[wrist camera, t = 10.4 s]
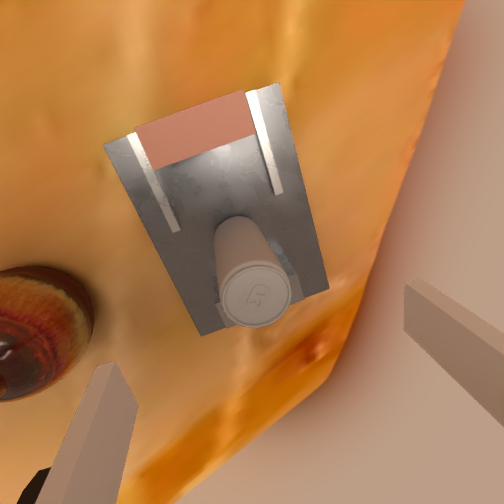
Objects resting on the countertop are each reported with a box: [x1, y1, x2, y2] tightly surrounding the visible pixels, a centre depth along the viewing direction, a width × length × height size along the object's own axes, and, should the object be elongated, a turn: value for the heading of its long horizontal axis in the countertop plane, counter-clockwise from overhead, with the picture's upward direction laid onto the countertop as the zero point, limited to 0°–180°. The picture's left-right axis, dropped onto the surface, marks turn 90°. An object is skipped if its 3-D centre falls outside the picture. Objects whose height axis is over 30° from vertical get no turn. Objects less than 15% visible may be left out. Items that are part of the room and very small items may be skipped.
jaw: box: [134, 89, 256, 170], centre depth 23 cm, size 3×8×5 cm, turn 108°
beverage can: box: [214, 216, 292, 328], centre depth 24 cm, size 5×5×12 cm
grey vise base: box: [103, 82, 329, 336], centre depth 27 cm, size 22×16×6 cm
